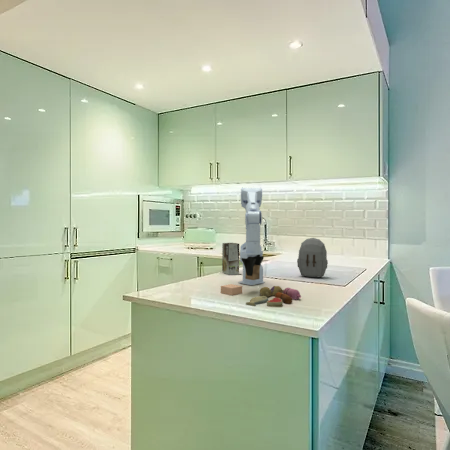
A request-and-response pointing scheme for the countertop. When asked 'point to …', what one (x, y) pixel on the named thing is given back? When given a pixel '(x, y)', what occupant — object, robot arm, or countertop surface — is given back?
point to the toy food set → (279, 295)
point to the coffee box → (230, 258)
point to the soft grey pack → (312, 258)
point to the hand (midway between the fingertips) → (252, 274)
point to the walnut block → (254, 273)
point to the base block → (231, 289)
